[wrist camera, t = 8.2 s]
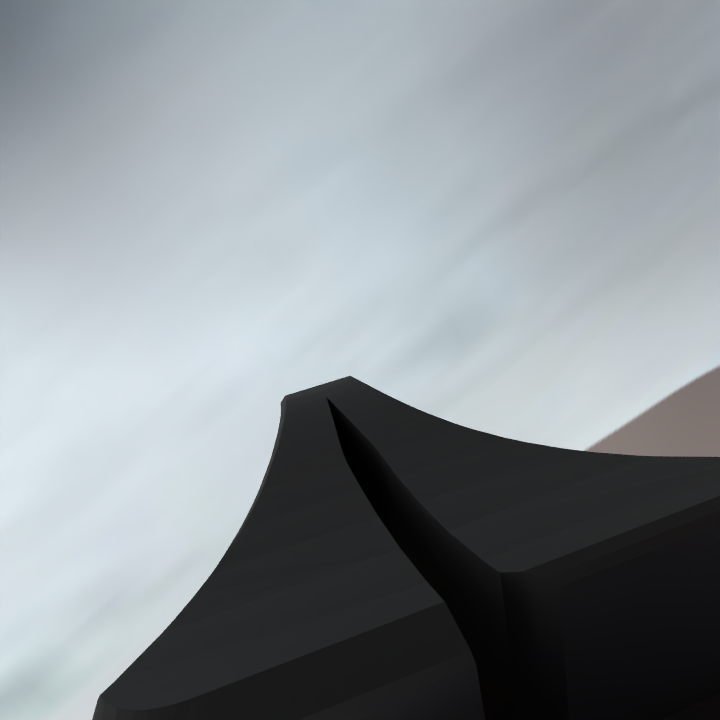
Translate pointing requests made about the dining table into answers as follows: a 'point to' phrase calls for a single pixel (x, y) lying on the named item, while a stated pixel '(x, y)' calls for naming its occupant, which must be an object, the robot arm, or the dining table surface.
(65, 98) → the dining table surface
